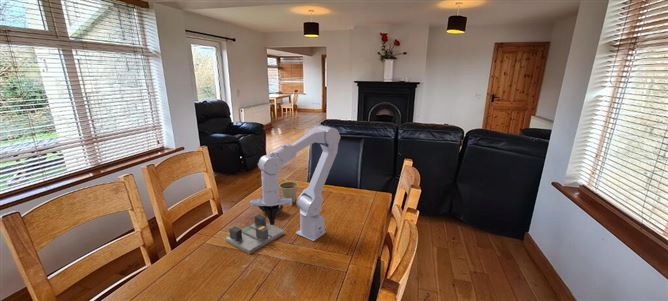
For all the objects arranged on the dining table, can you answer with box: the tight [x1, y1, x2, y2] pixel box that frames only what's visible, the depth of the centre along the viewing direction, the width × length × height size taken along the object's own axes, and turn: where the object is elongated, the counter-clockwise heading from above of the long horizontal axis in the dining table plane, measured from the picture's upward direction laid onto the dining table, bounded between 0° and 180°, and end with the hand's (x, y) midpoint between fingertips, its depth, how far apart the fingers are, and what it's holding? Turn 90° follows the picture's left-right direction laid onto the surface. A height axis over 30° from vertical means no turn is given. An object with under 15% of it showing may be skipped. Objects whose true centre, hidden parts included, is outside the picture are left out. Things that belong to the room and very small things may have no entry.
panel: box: [225, 214, 285, 255], centre depth 112 cm, size 14×17×5 cm
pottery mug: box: [257, 205, 284, 216], centre depth 131 cm, size 12×10×8 cm
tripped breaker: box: [256, 226, 268, 240], centre depth 109 cm, size 4×2×4 cm, turn 54°
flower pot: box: [279, 181, 299, 204], centre depth 144 cm, size 9×9×9 cm
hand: (272, 223), depth 104 cm, fingers closed
